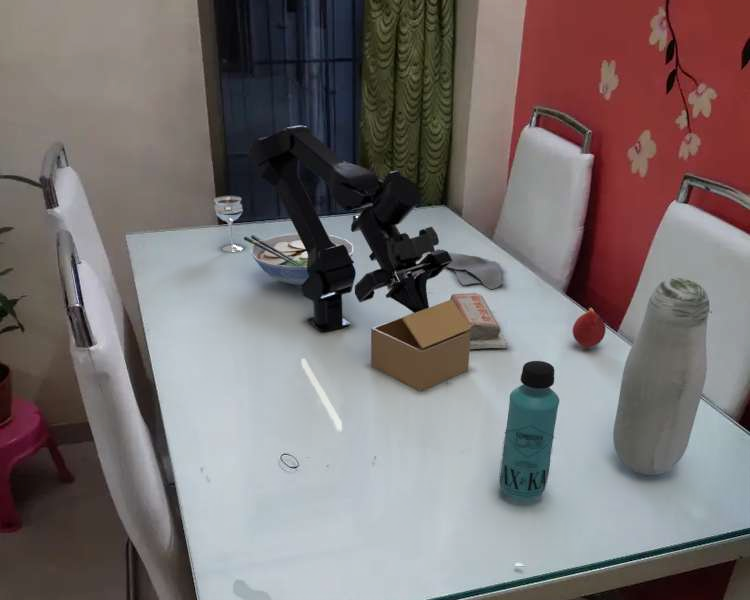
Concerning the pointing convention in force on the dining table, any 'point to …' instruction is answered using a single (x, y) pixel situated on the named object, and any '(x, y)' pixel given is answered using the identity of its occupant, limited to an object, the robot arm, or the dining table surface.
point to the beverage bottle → (529, 433)
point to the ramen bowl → (287, 256)
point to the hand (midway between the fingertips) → (427, 318)
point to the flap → (436, 323)
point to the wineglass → (229, 215)
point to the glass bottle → (663, 379)
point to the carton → (417, 355)
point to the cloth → (476, 270)
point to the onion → (589, 329)
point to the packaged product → (479, 321)
